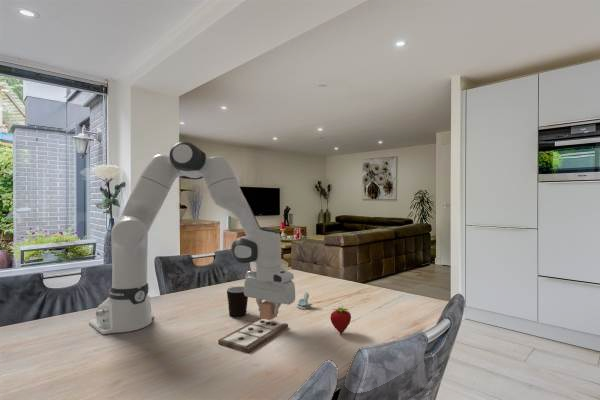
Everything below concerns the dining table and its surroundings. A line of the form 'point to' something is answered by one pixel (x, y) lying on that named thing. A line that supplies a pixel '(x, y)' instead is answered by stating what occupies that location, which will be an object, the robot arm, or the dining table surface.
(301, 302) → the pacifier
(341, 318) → the strawberry
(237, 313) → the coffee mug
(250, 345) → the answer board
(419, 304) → the dining table surface
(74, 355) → the dining table surface
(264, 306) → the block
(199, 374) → the dining table surface
